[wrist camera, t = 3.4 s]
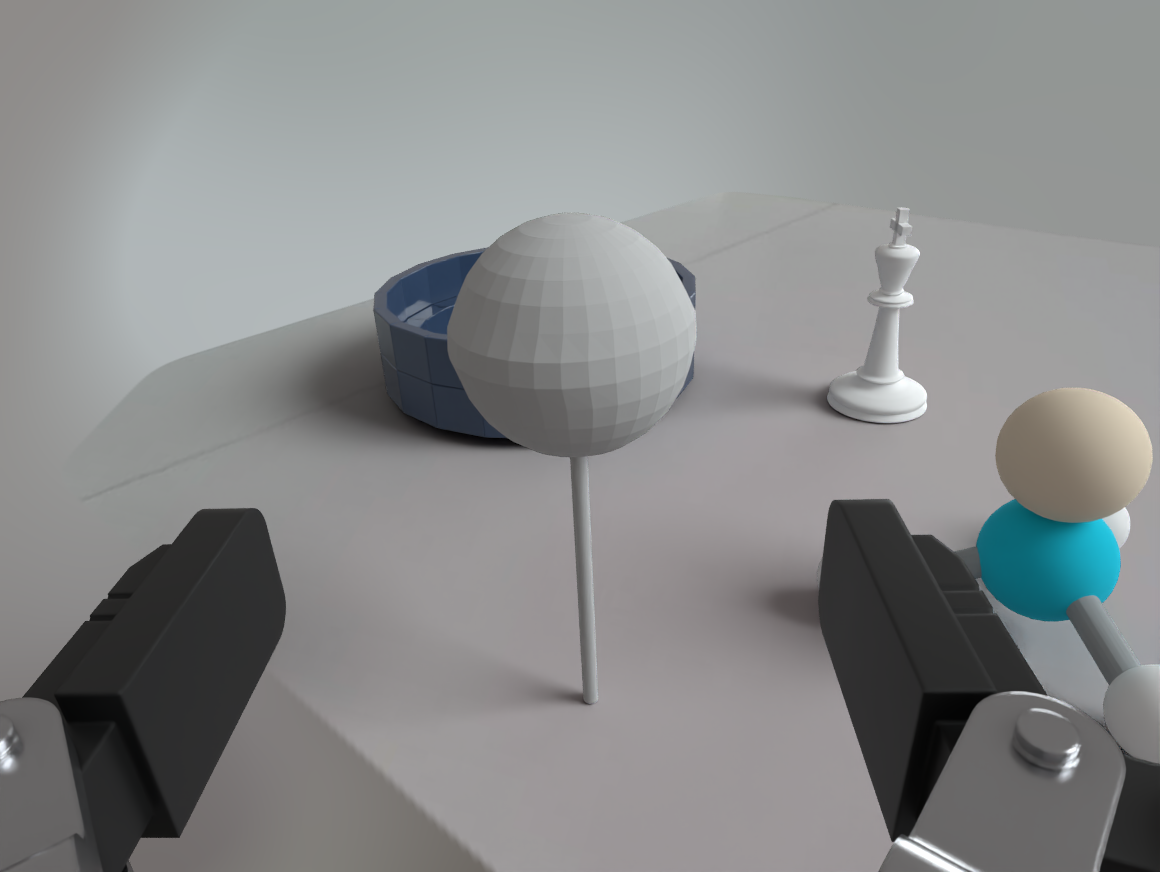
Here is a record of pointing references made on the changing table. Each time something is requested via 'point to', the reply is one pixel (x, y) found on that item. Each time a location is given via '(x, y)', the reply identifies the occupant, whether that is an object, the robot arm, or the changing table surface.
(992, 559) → the molecule model
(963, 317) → the changing table surface
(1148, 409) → the changing table surface
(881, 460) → the changing table surface
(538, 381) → the lollipop
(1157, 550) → the changing table surface
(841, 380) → the chess piece
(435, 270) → the bowl
